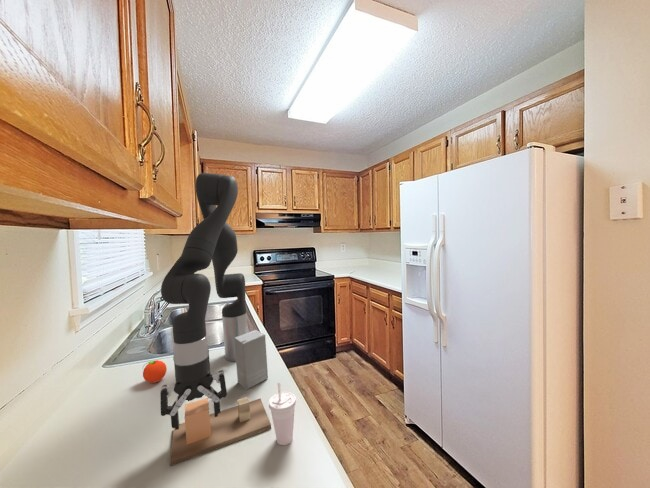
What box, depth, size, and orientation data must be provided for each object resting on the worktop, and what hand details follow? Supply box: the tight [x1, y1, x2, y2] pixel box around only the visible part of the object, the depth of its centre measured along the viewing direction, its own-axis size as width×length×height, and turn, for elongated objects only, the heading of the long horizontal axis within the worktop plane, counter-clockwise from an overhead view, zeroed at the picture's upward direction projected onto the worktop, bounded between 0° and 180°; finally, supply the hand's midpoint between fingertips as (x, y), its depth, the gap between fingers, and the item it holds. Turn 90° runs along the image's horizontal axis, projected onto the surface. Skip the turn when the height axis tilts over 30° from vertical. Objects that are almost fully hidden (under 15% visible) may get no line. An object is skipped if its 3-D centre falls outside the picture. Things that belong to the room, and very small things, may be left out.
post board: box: [169, 396, 272, 467], centre depth 68 cm, size 12×22×6 cm, turn 116°
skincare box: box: [234, 329, 269, 390], centre depth 88 cm, size 8×7×16 cm
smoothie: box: [268, 381, 297, 446], centre depth 63 cm, size 6×6×14 cm
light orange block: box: [184, 397, 211, 444], centre depth 65 cm, size 5×5×7 cm
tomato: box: [142, 359, 168, 384], centre depth 92 cm, size 8×7×7 cm
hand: (197, 421), depth 65 cm, fingers open, 8 cm apart
